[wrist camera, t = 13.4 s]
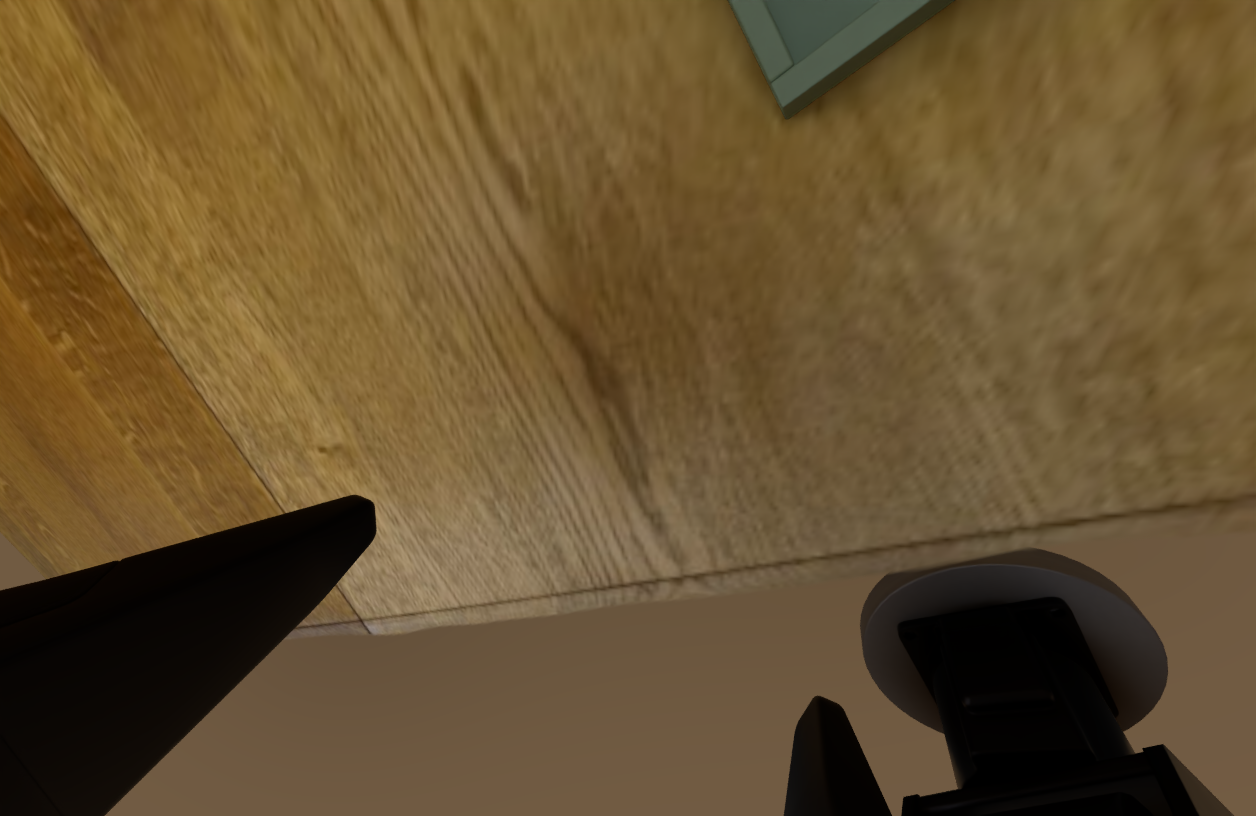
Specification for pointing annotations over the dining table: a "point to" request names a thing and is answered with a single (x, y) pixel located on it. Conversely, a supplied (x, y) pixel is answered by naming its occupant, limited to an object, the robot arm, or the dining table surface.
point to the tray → (823, 40)
